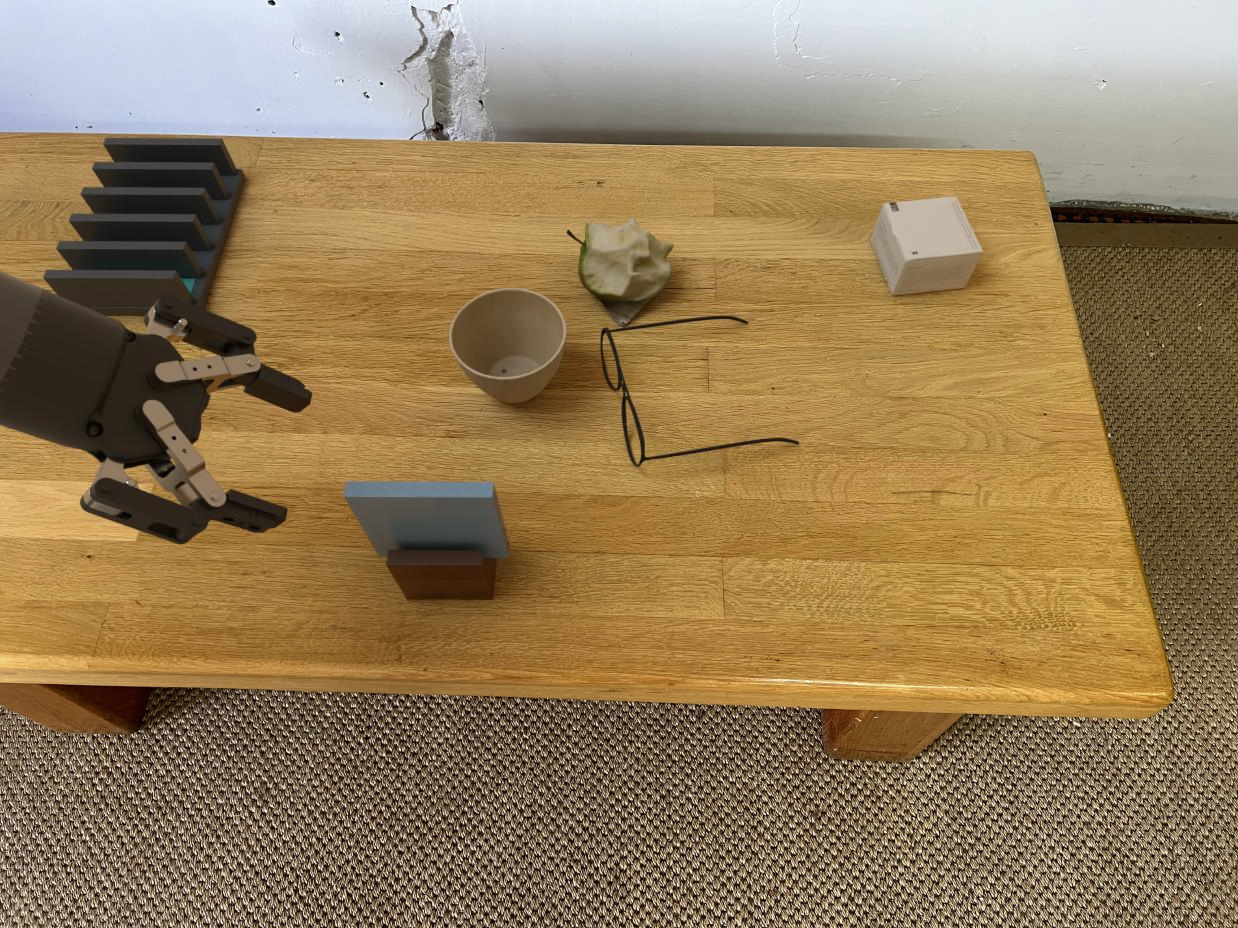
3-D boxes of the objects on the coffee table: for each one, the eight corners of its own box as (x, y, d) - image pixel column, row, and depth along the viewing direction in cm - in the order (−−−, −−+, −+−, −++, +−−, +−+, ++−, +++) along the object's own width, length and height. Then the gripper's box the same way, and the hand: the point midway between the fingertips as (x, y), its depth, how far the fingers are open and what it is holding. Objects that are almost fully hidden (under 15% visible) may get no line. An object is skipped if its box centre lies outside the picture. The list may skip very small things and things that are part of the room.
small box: (966, 289, 86) (986, 252, 81) (890, 297, 85) (905, 261, 81) (941, 232, 89) (958, 194, 85) (867, 239, 89) (881, 201, 84)
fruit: (560, 304, 86) (548, 235, 80) (621, 257, 90) (614, 188, 84) (631, 339, 82) (624, 269, 76) (691, 288, 86) (689, 218, 80)
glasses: (596, 352, 82) (601, 317, 77) (743, 333, 85) (755, 298, 81) (635, 481, 75) (643, 450, 70) (793, 454, 78) (810, 423, 74)
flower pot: (591, 392, 79) (588, 343, 73) (496, 444, 76) (486, 398, 70) (534, 321, 83) (527, 270, 77) (442, 368, 81) (427, 319, 74)
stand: (493, 600, 69) (481, 565, 63) (405, 599, 69) (385, 564, 63) (498, 543, 72) (487, 504, 66) (413, 542, 72) (395, 503, 66)
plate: (508, 558, 67) (492, 497, 58) (378, 557, 67) (343, 496, 58) (509, 543, 67) (493, 481, 59) (380, 543, 67) (346, 480, 59)
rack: (202, 316, 84) (178, 279, 79) (67, 315, 84) (36, 278, 79) (246, 177, 93) (227, 137, 89) (125, 176, 93) (100, 136, 89)
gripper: (30, 280, 51) (288, 391, 61) (-66, 493, 44) (244, 579, 54) (69, 213, 47) (342, 345, 56) (-30, 439, 39) (301, 544, 49)
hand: (294, 459), depth 55 cm, fingers open, 8 cm apart
